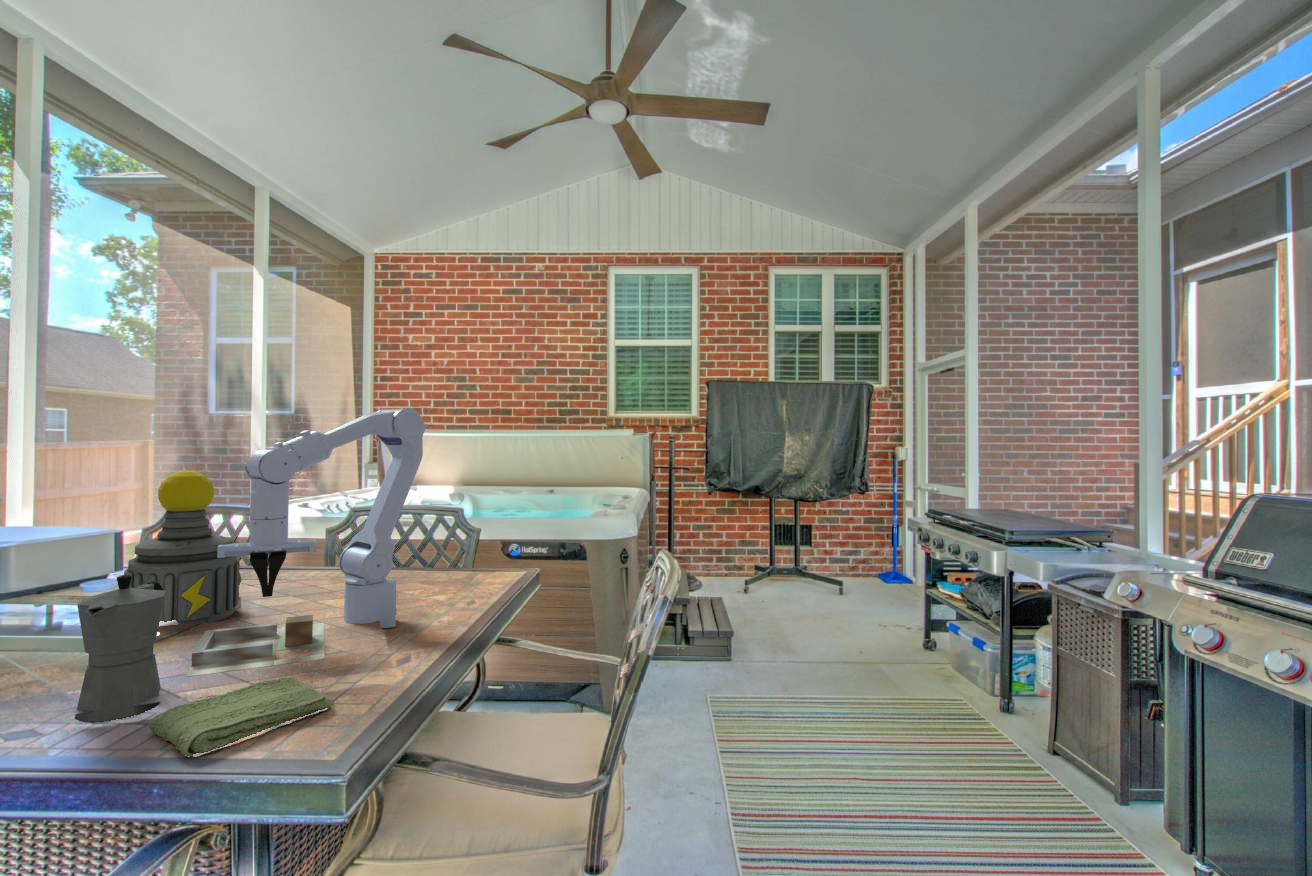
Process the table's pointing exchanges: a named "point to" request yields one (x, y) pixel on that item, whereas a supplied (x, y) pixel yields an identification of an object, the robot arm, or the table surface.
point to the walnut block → (299, 630)
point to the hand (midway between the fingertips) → (267, 595)
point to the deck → (248, 648)
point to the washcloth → (236, 714)
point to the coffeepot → (120, 651)
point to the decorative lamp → (188, 556)
